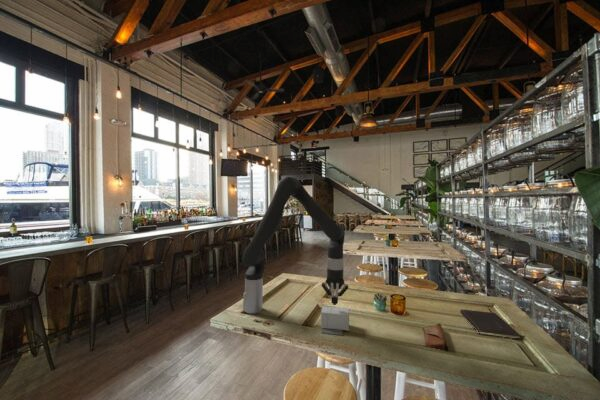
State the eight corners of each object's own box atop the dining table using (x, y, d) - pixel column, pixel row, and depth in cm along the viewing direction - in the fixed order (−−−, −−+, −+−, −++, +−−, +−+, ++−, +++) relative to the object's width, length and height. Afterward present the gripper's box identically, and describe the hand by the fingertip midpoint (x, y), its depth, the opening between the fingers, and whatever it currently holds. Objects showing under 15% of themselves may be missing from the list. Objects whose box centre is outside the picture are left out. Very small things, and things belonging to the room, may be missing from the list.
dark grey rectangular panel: (321, 333, 114) (321, 332, 114) (325, 317, 129) (325, 317, 129) (342, 335, 113) (342, 334, 113) (343, 319, 127) (343, 318, 127)
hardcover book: (495, 317, 134) (495, 312, 134) (520, 341, 112) (520, 335, 112) (460, 313, 138) (460, 309, 138) (478, 335, 116) (478, 330, 116)
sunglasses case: (421, 326, 122) (429, 315, 120) (435, 336, 120) (443, 325, 118) (424, 347, 105) (434, 335, 104) (441, 359, 103) (451, 347, 101)
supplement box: (320, 328, 118) (348, 331, 115) (320, 312, 118) (349, 314, 115) (322, 320, 125) (349, 323, 123) (322, 305, 125) (349, 308, 123)
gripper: (320, 268, 118) (319, 306, 118) (349, 270, 115) (349, 309, 115) (321, 264, 125) (321, 299, 125) (349, 266, 122) (349, 302, 123)
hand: (334, 304), depth 120 cm, fingers closed
